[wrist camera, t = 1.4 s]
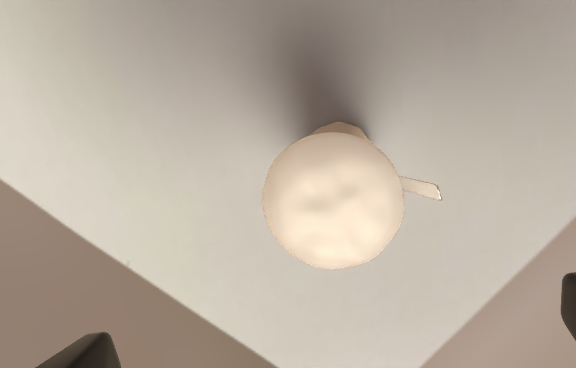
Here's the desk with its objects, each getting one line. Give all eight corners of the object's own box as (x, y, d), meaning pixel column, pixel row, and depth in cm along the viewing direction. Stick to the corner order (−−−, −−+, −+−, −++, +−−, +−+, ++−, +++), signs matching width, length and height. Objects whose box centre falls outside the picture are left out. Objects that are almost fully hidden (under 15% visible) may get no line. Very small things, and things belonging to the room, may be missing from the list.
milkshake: (412, 177, 21) (462, 269, 11) (311, 206, 22) (280, 312, 13) (386, 89, 20) (416, 110, 10) (282, 125, 21) (225, 173, 12)
